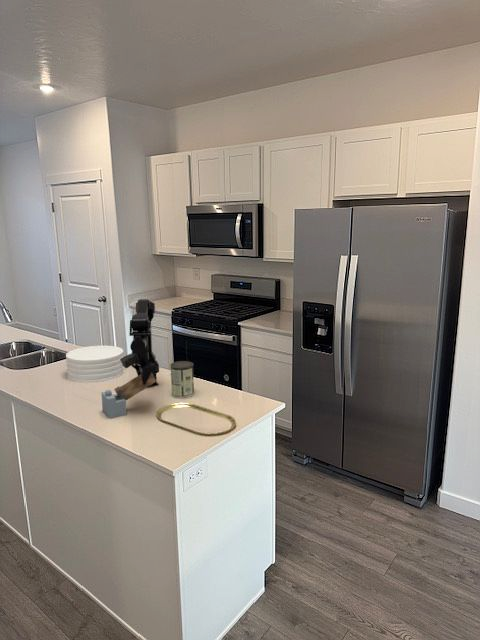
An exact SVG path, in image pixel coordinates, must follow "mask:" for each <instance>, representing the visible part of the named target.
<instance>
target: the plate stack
mask: <svg viewBox="0 0 480 640" xmlns="http://www.w3.org/2000/svg"><path fill="white" fill-rule="evenodd" d="M65 357H66V358H65V359H66V360H65V361H66V362H65V363H66V372H67V379H68V378H69V379H68V380H69V381H72V380H73V381H72V382H75V381H77V383H84V382H86V383H101V382H105V381H110V380H114V379H117V378H119V377H121V376H123V374H124V373H125V367H124V366H123V365H122V363H121V361H120V359H121V358H123V357H125V356H124V349H123V348H121V347H120V346H114V345H90V346H82V347H77V348H75V349H72V350H70V351H68V352H67V353H66V354H65Z"/></svg>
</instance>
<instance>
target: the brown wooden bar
mask: <svg viewBox="0 0 480 640" xmlns="http://www.w3.org/2000/svg"><path fill="white" fill-rule="evenodd" d="M154 382H156V379H155V377H154V375H153V373H152V372H151V374H150V376H149V378H148V381H147V383H146V384H145V385H143V382H142V377H141V374H140V375H137V376H135V377H133V378H132V379H131V380H128V381H127V382H126V383H125V384H123V385H121V386H117V387H115V388H114V391H115V394H117V395H118V397H119V399H120V400H122V399H125V400H126V401H128V400H129V399H132V398H133V397H134V396H136V395H137V394H139V393H140V392H142V391H143V390H145V389H147V388H149V387H148V386H150V385H151V384H153V383H154ZM150 387H151V386H150Z"/></svg>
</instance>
